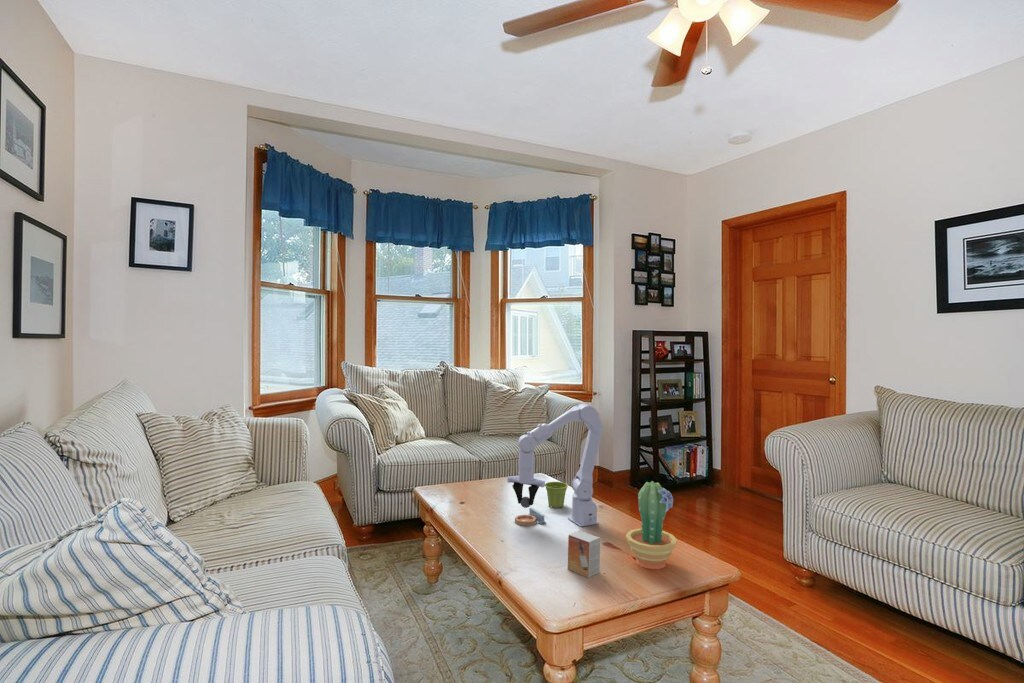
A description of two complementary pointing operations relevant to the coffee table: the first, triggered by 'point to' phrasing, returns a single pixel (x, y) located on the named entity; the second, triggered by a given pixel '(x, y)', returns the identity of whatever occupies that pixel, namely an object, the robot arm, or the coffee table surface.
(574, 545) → the small box
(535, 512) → the blue slab with nubs
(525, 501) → the ball
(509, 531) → the coffee table surface
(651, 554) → the potted cactus
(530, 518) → the bowl
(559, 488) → the plant pot
